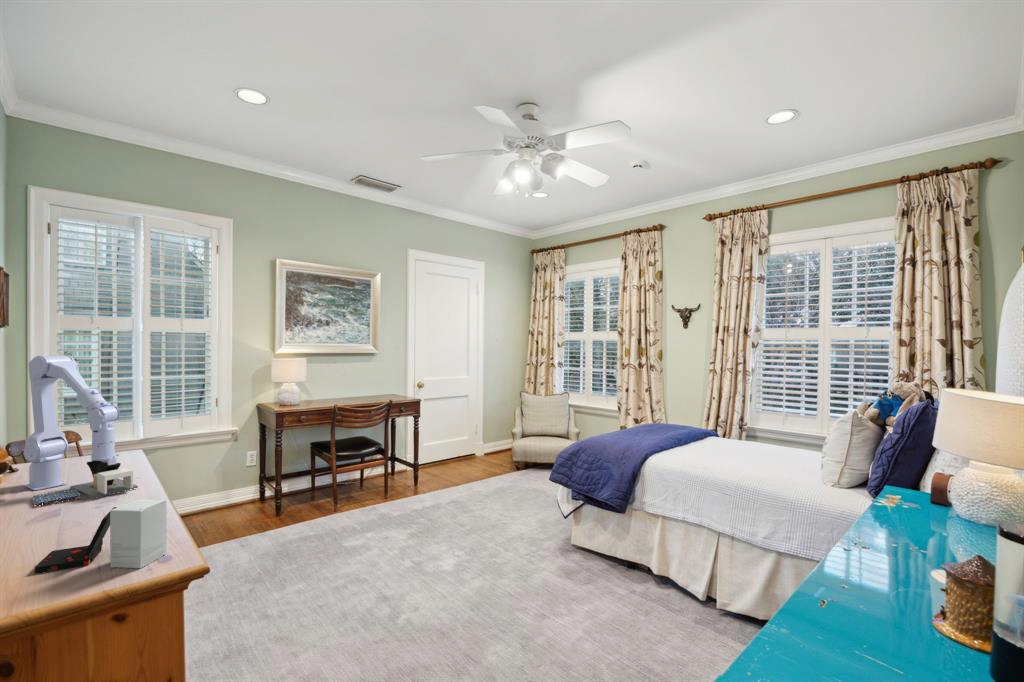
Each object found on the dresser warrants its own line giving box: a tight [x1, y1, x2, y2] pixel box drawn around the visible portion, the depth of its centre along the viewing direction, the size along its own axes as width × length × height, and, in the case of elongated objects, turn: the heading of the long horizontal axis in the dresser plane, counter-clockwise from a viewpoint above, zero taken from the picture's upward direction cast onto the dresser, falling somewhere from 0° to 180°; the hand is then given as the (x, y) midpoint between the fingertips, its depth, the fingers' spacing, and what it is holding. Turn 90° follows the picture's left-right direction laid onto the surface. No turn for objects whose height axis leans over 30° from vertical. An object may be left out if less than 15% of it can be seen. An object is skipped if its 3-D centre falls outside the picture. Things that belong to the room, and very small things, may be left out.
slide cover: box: [97, 467, 134, 494], centre depth 152 cm, size 6×7×6 cm
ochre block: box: [92, 474, 113, 489], centre depth 157 cm, size 4×4×5 cm
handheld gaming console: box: [34, 506, 118, 574], centre depth 106 cm, size 9×12×10 cm
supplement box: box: [109, 499, 168, 569], centre depth 106 cm, size 7×7×13 cm
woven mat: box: [31, 488, 82, 508], centre depth 146 cm, size 10×11×2 cm
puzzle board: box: [69, 478, 138, 500], centre depth 156 cm, size 18×12×1 cm, turn 58°
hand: (103, 483), depth 157 cm, fingers open, 7 cm apart
